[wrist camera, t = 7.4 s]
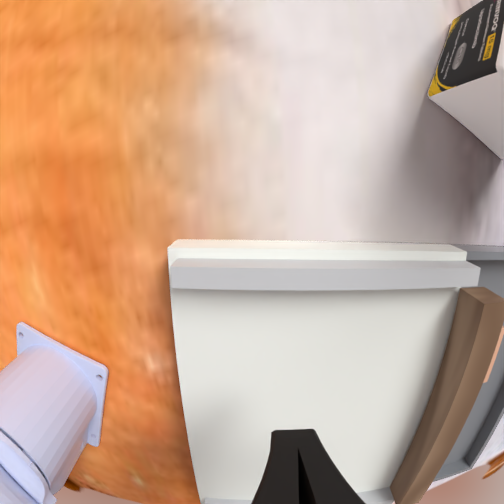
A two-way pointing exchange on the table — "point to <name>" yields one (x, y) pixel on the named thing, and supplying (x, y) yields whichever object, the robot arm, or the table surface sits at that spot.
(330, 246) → the white rimmed panel
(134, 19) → the table surface
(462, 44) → the medicine bottle
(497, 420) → the box
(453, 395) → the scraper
